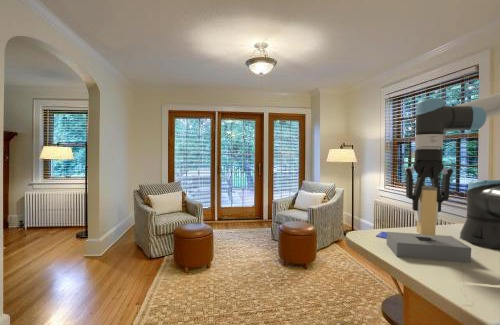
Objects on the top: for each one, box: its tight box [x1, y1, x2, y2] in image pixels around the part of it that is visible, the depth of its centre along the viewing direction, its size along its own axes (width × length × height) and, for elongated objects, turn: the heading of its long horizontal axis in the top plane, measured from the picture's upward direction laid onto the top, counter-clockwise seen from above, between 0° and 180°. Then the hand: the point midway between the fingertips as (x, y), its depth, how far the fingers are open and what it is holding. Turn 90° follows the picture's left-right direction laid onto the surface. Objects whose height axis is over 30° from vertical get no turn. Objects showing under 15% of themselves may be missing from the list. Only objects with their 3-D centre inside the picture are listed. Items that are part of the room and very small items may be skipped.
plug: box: [416, 185, 438, 236], centre depth 90 cm, size 4×4×15 cm
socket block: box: [386, 231, 472, 264], centre depth 91 cm, size 20×12×5 cm, turn 78°
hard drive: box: [375, 231, 388, 240], centre depth 106 cm, size 2×8×12 cm
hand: (426, 221), depth 90 cm, fingers closed on plug, 4 cm apart
